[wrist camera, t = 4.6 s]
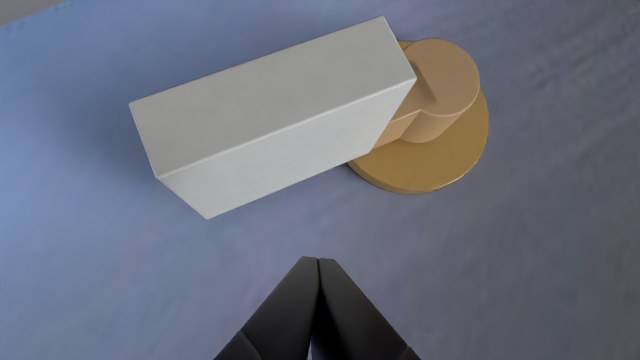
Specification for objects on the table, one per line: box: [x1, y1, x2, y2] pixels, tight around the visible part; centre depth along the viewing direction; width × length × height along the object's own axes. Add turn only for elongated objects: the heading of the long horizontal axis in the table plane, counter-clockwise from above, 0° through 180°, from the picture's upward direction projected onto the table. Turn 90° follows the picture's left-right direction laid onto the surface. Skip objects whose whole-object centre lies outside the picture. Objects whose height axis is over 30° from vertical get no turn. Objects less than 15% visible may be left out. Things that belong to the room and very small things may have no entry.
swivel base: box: [347, 41, 489, 194], centre depth 20 cm, size 8×8×1 cm
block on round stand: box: [129, 16, 480, 219], centre depth 15 cm, size 13×4×7 cm, turn 114°
